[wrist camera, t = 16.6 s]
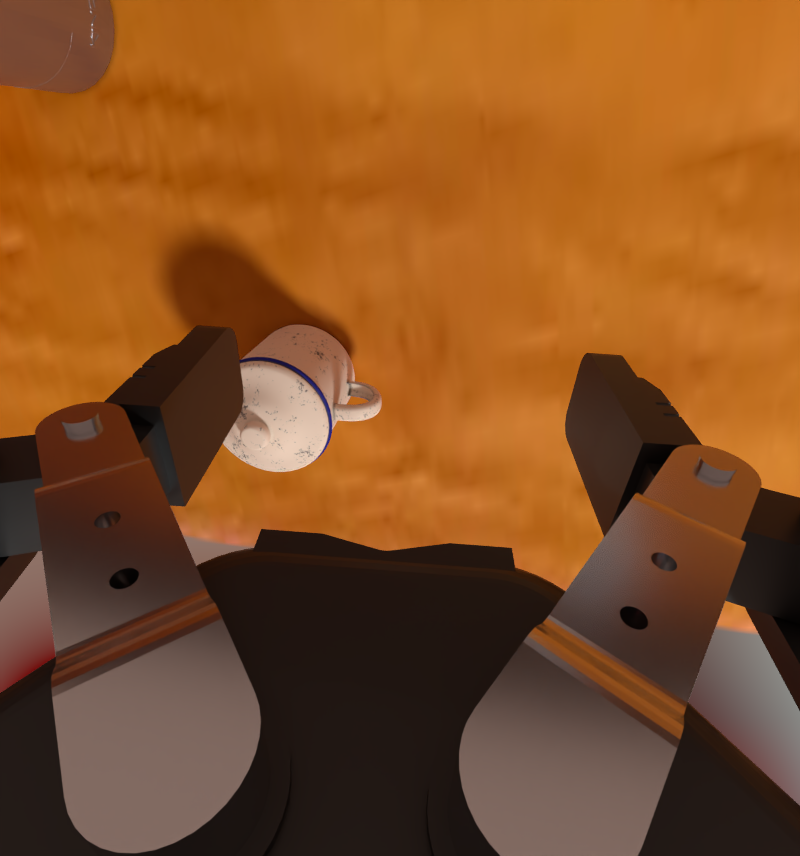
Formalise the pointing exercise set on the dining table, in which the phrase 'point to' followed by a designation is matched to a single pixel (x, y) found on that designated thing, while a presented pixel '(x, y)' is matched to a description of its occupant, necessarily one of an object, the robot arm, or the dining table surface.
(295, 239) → the dining table surface
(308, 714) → the robot arm
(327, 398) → the teacup with lid
